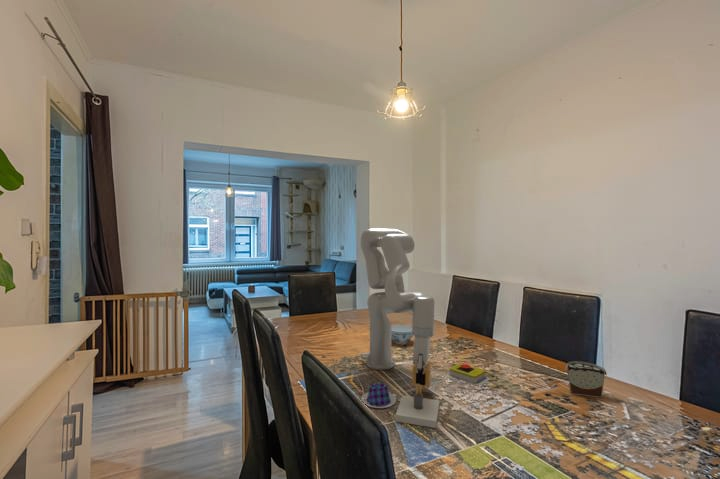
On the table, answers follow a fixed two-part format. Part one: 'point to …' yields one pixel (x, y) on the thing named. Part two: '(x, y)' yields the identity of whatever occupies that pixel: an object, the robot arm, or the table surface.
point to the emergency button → (469, 373)
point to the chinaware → (401, 333)
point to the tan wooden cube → (427, 376)
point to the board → (418, 409)
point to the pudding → (379, 396)
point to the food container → (585, 378)
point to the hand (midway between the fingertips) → (421, 379)
